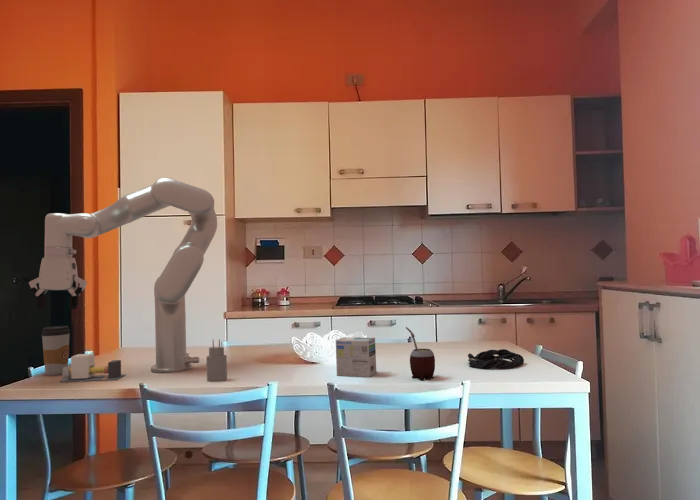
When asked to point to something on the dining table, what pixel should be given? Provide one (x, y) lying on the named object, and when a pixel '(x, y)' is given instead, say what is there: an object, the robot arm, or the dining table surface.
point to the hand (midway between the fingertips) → (57, 309)
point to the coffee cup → (55, 349)
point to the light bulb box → (356, 356)
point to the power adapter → (216, 364)
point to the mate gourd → (421, 362)
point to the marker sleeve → (82, 365)
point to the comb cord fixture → (111, 369)
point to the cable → (495, 359)
